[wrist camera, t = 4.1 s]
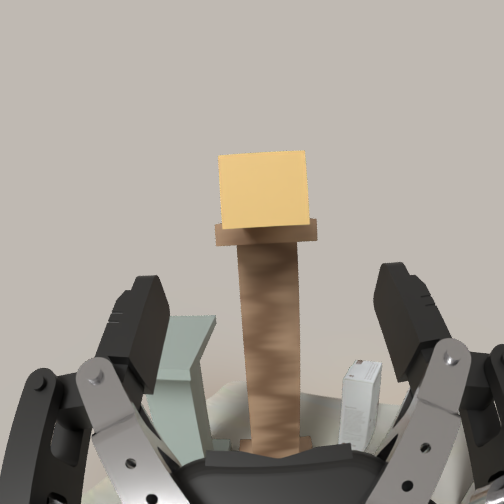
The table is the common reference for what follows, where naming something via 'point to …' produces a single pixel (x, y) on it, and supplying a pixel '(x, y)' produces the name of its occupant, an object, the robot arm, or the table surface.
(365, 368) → the skincare box
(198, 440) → the slate pedestal
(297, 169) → the ochre bar
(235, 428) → the table surface
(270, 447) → the walnut stand
